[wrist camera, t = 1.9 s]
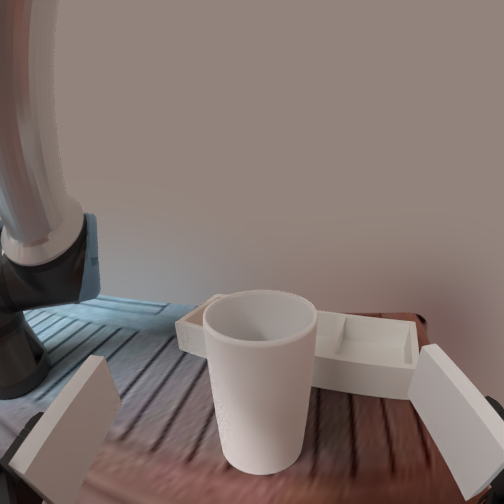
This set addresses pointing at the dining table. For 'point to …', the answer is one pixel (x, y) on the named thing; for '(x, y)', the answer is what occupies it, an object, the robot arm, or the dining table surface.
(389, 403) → the dining table surface
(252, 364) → the cup
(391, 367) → the bay rack
